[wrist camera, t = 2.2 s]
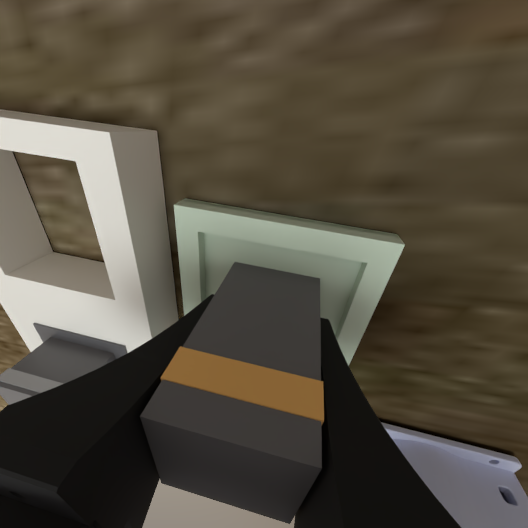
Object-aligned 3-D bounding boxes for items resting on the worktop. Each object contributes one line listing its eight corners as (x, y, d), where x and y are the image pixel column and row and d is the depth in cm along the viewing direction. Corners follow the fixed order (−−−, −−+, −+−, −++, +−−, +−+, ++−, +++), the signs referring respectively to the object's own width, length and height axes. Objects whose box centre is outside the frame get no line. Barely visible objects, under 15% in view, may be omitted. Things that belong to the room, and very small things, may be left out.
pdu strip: (157, 130, 9) (-5, 137, 5) (186, 391, 19) (142, 480, 14) (-35, 104, 10) (-325, 87, 6) (84, 364, 20) (12, 438, 15)
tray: (397, 234, 9) (404, 244, 9) (337, 372, 14) (338, 387, 13) (185, 198, 10) (173, 204, 10) (194, 337, 15) (187, 350, 14)
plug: (321, 277, 11) (325, 468, 5) (303, 340, 13) (291, 524, 7) (233, 260, 11) (137, 414, 5) (231, 323, 13) (160, 483, 7)
